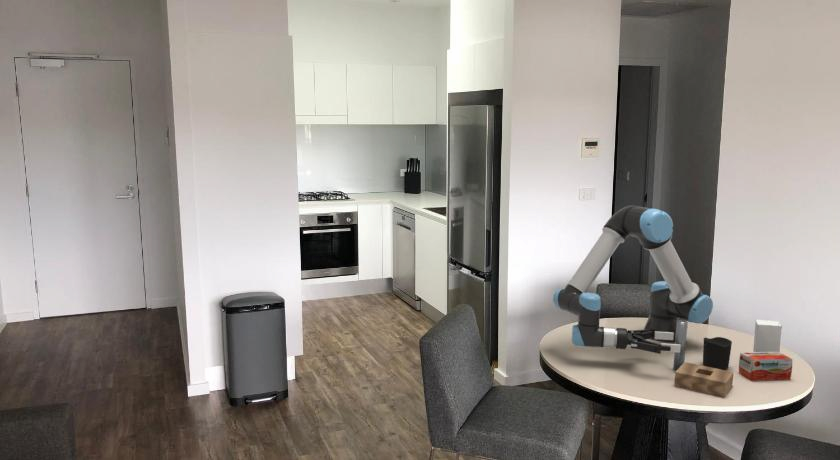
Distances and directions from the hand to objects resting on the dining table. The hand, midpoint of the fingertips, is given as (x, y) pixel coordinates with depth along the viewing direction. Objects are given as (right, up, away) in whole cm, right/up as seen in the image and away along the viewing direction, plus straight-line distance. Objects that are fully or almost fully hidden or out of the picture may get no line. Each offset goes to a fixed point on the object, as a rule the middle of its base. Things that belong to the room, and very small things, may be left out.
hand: (676, 342), depth 245 cm
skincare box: (+37, -9, +11) cm, 40 cm away
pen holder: (+16, -10, +6) cm, 20 cm away
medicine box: (+30, -12, -3) cm, 32 cm away
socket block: (+4, -13, -13) cm, 18 cm away
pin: (+1, -10, +2) cm, 11 cm away
